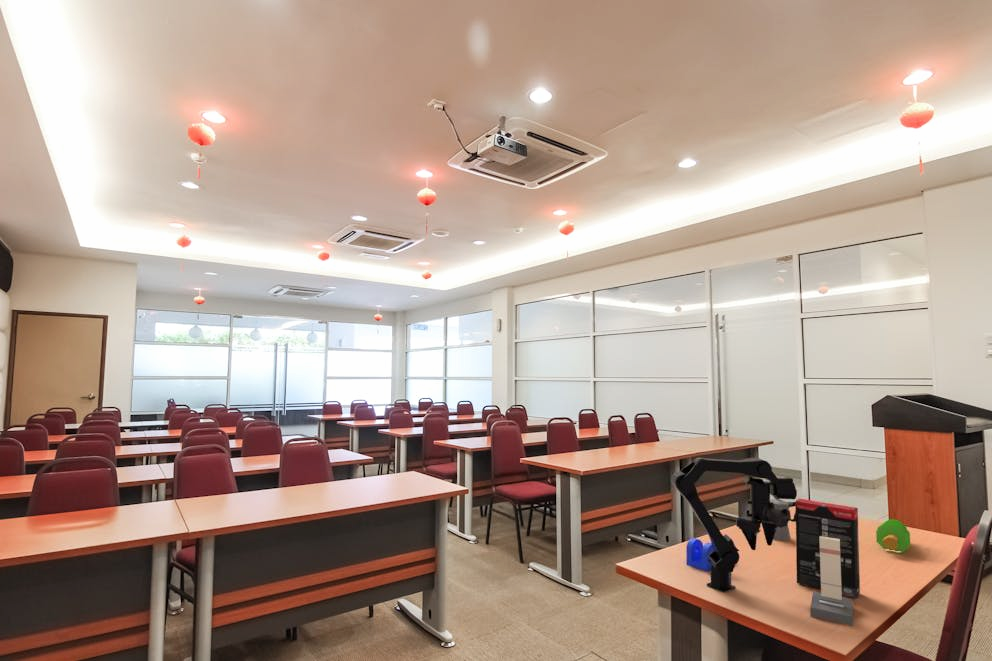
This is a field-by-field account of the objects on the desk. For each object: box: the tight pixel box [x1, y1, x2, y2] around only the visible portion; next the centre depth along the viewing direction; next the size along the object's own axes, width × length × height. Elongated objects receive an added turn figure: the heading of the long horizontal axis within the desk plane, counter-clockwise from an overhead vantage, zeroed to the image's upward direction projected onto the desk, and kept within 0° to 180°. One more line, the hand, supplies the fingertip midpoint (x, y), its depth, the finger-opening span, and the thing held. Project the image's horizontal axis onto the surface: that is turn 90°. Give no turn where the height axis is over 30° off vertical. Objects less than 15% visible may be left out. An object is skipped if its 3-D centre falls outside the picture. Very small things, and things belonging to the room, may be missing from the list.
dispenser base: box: [809, 590, 854, 627], centre depth 154 cm, size 10×14×3 cm
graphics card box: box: [794, 498, 861, 599], centre depth 172 cm, size 17×7×27 cm, turn 48°
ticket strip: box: [819, 536, 843, 600], centre depth 155 cm, size 5×2×16 cm, turn 56°
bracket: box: [685, 537, 714, 573], centre depth 193 cm, size 18×8×9 cm, turn 124°
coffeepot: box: [770, 498, 796, 542], centre depth 226 cm, size 15×9×18 cm, turn 70°
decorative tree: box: [875, 518, 911, 553], centre depth 216 cm, size 11×12×30 cm
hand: (761, 547), depth 171 cm, fingers open, 9 cm apart
